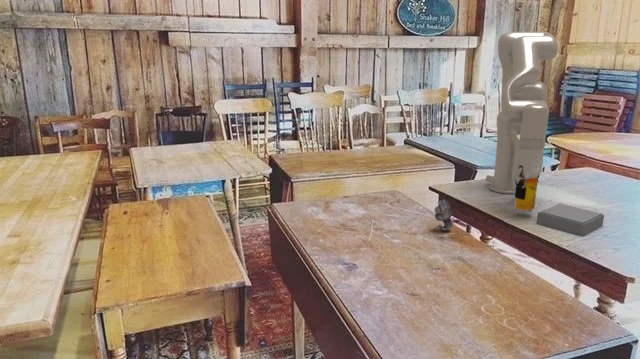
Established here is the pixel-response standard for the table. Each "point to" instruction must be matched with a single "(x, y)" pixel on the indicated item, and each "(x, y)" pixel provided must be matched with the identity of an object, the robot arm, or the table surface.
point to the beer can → (528, 193)
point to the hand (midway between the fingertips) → (525, 195)
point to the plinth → (570, 219)
